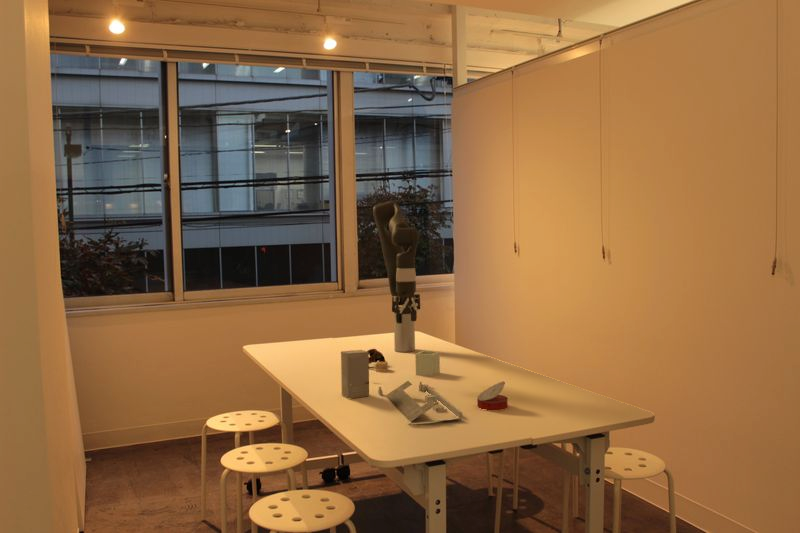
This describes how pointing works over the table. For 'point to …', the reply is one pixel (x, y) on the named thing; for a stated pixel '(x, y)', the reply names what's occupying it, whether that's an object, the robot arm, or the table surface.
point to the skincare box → (355, 373)
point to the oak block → (381, 366)
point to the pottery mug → (375, 356)
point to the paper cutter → (413, 408)
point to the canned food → (493, 398)
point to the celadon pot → (427, 363)
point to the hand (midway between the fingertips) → (406, 322)
